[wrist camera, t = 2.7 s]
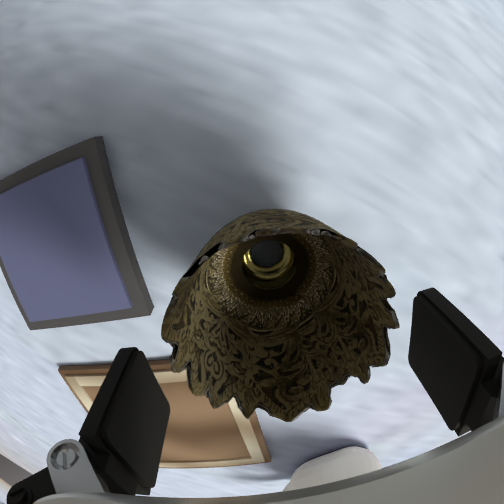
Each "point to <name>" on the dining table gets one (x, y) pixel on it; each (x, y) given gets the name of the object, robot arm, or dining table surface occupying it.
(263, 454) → the marked board
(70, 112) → the dining table surface
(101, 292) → the ink pad
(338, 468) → the cat figurine
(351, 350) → the cup
